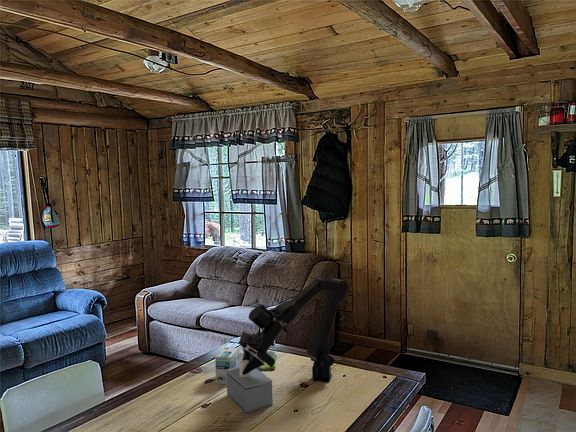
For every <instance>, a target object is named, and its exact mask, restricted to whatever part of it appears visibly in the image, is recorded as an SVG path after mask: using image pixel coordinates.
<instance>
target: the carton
mask: <svg viewBox="0 0 576 432" xmlns="http://www.w3.org/2000/svg"><path fill="white" fill-rule="evenodd" d="M226 376H227V384H226V396H227V397H228V398H229V399H231V400H232V401H233V402H234V403H235V404H236V405H237V407H239V408H240V409H241V410H242V411H243V412H244V413H245V414H249V413H253V412H255V411H256V412H257V411H258V410H262V409H265V408H268V407H272V406H273V402H274V401H273V399H274V398H273V382H272V383H268V384H264V385H259V386H255V387H250V388H244V387H243V386H242V385H241V384H240V383H239V382H237V381H236V380H235V379H234V378H233V377H232V376H231V375H229V374H228V373H227V374H226Z"/></svg>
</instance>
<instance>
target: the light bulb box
mask: <svg viewBox="0 0 576 432" xmlns="http://www.w3.org/2000/svg"><path fill="white" fill-rule="evenodd" d="M240 353H241V352H240V347H227V346H223V347H222V349H221V350H220V351H219V352H218V353H217V354H216V355H215V356H214V357H215V359H214V360H215V378H216V380H215V382H216V384H217V385H218V384H219V385H220V384H221V385H227V376H226V374H227V372H226V369H231V368H236V367H239V361H240Z"/></svg>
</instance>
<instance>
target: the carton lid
mask: <svg viewBox="0 0 576 432" xmlns="http://www.w3.org/2000/svg"><path fill="white" fill-rule="evenodd" d="M248 362H249V361H248V360H243V361H239V367H236V368H231V369H226V372H227V373H228V374H229V375H231V376H232V377H233V378H234V379H235V380H236V381H237V382H239V383H240V384H241V385H242V386H243V387H244V388H250V387H255V386H259V385H264V384H268V383H272V384H273V379H271V378H270V377H269V376H267V375H266V374H265V373H263V372H262V371H259V370H258V369H254V370H252V371H251V372H249V373H247V374H245V375H243V374H242V372H243V370H244V369H245V367H246V365H247V364H248Z"/></svg>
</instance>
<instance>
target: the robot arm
mask: <svg viewBox="0 0 576 432" xmlns="http://www.w3.org/2000/svg"><path fill="white" fill-rule="evenodd" d="M324 290H325V297H326V302H325V305H324V308H323V311H322V314H321V318H320V321H319V324H318V328H317V330H316V331H317V332H316V335H315V336H314V337H313V338H309V339H308V343H307V346H306V348H305V349H306V354H307V355H308V358H310V361H311V362H313V365H312V368H311V369H312V371H311V375H312V381H314V382H326V383H330V381H331V379H332V377H333V374H332V366H334V364H335V359H334V358H333V356H331V355H330V354H329V353H330V342H329V341H330V339H329V338H330V334H331V332H332V330H333V329H332V328H333V325H334V323H335V322H334V321H335V318H336V315H337V311H338V308H339V305H340V303H341V302H342V301H343V300H344V299H345V297H346V295H347V292H348V290H349V285H348V283H347V281H345V280H342V279H340V278H333V277H332V278H330V279H326V278H325V279H324V278H320V277H315V278H314V279H313V280H312V281H311V282H310V283H309V284H307V286H305V287H304V288H303V289H302V290H301V291H299V292H298V293H297V294H296V295H294V297H292V298H291V299H288V300H285V301H282V302H280V303H279V304H277V305H276V306H275V307H274V308H272V309H269V310H268V309H267V307H266V306H264V305H263V304H262V303H260V304H259V305H258V306H256V307H254V308H253V309H251V311H250V312H249V314H248V319H249V321H251V322H252V323H253V324H254V325H255V326H256V327H257V328H259V329H261V332H259V331H258V332H256V333H250V332H247V331H242V333H241V336H240V339H239V341H238V342H237V343H238V345H239V346H241V347H242V351H243V352H242V353H244V356H243V360H248V361H249V362H248V364H247V365H246V367H245V369H244V370H243V372H242V374H243V375H245V374H247V373H249V372H251V371H252V370H254V369H256V368H258V367H260V366H262V365H265V364H264V362H265V363H266V364H267V365H268V366H270V367H271V368H272V367H273V366H274V364H275V359H274V358H272V357H271V356H270V355H269V354H268V353H266V352H267V351H268V350H269V349H270V348H271V347H274V346H275V341H276V340H277V338H278V336H279V335H280V334H281V332H282V333H285V334H288V329H287V325H286V324H290V323H292V322H293V321H294V320H295V319H296V317H298V315H299V312H300V310H301V309H303V307H304V306H306V304H308V303H309V302H310V301H311V300H313V299H314V298H315V297H316V296H317V295H319V293H320V292H322V291H324ZM281 322H282V323H281ZM243 360H242V361H243Z"/></svg>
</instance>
